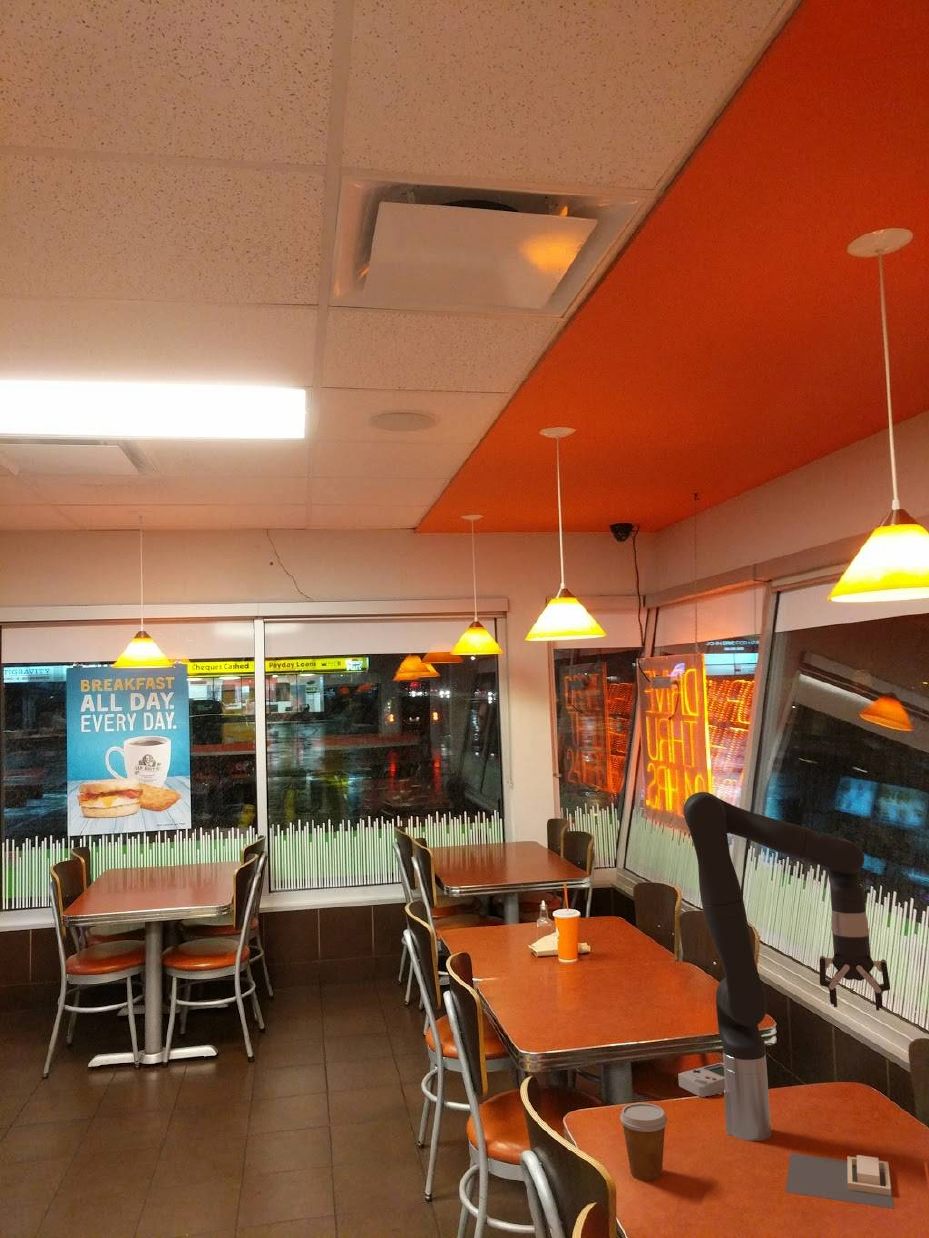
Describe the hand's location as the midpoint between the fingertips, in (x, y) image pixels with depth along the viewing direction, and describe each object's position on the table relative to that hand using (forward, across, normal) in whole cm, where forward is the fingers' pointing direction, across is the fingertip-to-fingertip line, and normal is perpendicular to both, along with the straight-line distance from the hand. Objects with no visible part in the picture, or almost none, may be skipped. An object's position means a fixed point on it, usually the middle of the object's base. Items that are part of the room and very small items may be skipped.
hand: (856, 1007), depth 199 cm
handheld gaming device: (+28, +35, -21) cm, 50 cm away
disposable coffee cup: (+28, +42, +29) cm, 58 cm away
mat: (+28, +5, +20) cm, 35 cm away
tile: (+27, 0, +18) cm, 33 cm away
